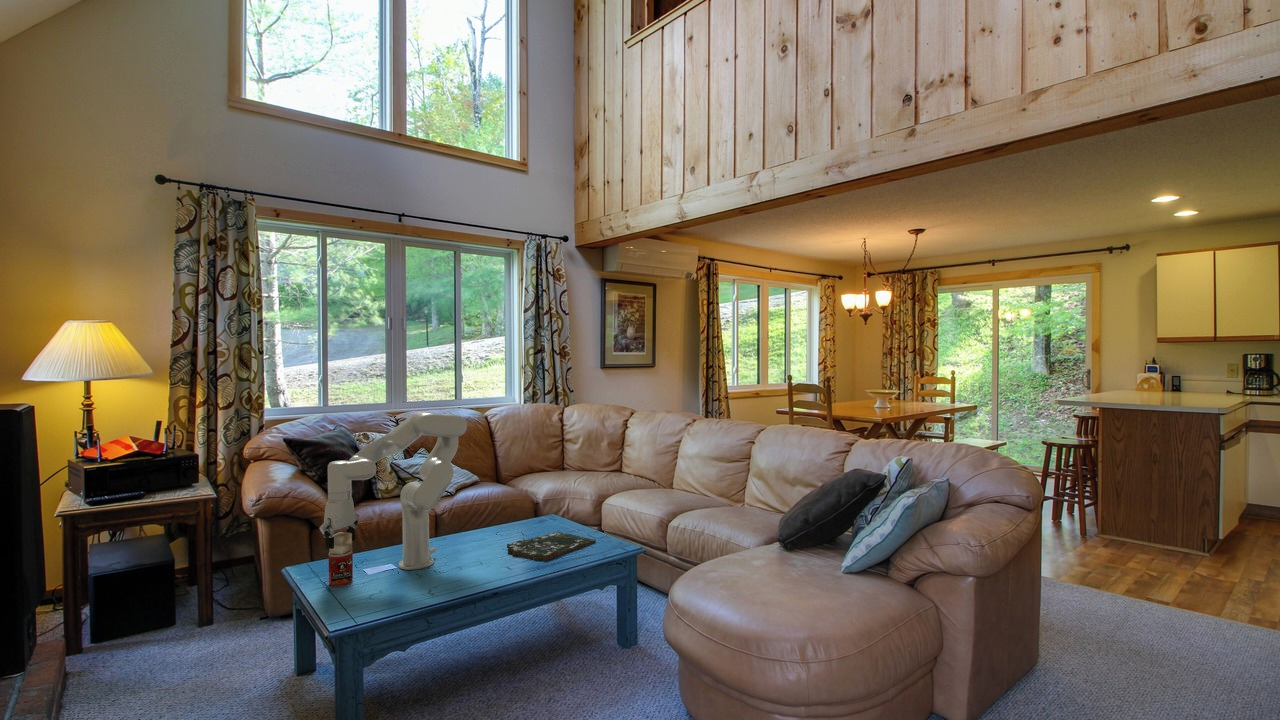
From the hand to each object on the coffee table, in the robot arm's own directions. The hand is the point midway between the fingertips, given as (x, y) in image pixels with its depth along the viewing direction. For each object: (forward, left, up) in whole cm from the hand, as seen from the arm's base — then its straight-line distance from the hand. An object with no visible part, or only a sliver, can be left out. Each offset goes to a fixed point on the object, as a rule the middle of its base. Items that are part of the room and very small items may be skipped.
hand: (340, 544), depth 214 cm
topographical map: (-56, +53, -14) cm, 78 cm away
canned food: (0, 0, -14) cm, 14 cm away
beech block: (0, 0, -3) cm, 3 cm away
